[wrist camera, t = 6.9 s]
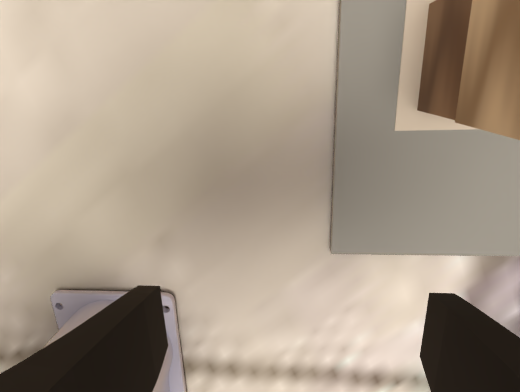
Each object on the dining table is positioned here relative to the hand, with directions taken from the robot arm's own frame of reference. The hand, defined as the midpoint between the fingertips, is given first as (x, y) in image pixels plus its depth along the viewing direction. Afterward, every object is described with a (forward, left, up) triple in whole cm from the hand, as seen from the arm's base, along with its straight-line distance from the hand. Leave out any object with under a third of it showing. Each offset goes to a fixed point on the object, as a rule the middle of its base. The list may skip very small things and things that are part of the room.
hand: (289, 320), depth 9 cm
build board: (+4, -8, -10) cm, 13 cm away
